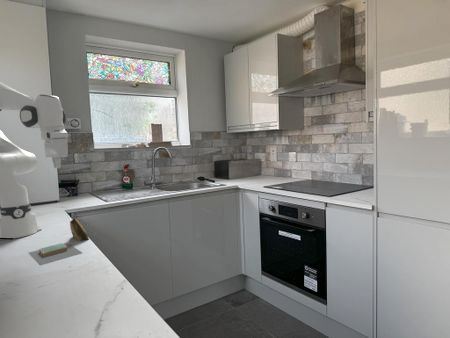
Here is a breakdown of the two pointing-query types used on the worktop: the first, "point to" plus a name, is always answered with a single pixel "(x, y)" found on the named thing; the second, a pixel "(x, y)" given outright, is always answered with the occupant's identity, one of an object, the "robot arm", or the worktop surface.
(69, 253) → the mat
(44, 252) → the coaster
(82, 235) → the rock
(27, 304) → the worktop surface
